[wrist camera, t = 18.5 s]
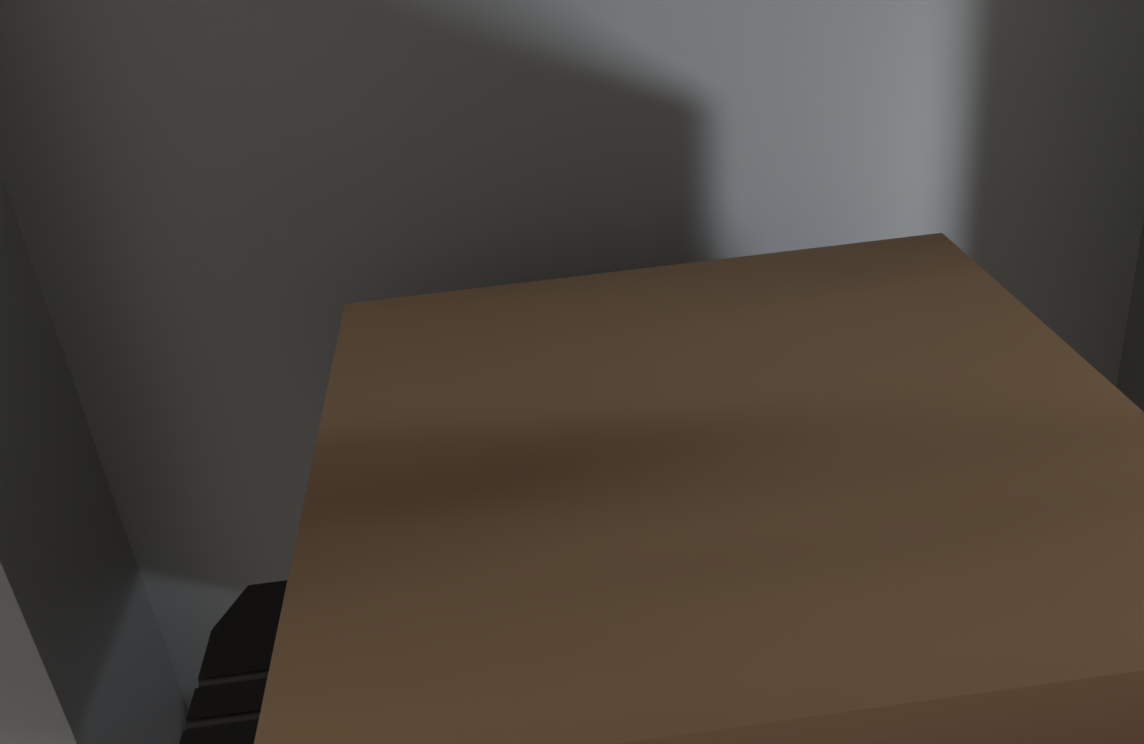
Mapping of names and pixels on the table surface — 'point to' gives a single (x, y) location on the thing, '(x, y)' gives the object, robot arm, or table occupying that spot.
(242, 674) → the robot arm
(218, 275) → the collection tray
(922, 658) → the walnut cube
